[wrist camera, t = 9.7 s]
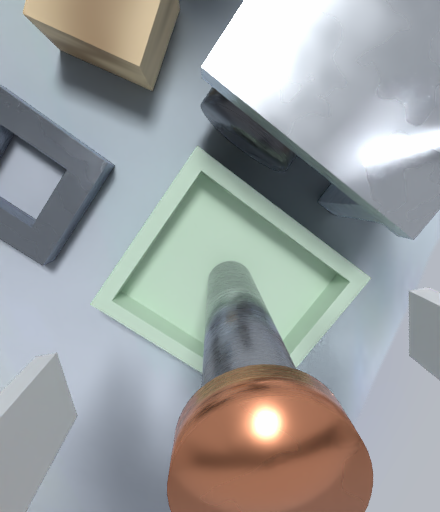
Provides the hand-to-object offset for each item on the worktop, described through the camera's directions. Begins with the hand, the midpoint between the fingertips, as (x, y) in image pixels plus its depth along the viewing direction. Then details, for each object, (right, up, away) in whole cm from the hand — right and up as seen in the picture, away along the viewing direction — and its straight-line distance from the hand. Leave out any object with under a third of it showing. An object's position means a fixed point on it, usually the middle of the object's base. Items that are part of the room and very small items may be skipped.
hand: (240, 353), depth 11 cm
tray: (0, +2, +11) cm, 11 cm away
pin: (0, +2, +10) cm, 10 cm away
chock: (-7, +18, +7) cm, 20 cm away
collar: (-13, +9, +9) cm, 18 cm away
